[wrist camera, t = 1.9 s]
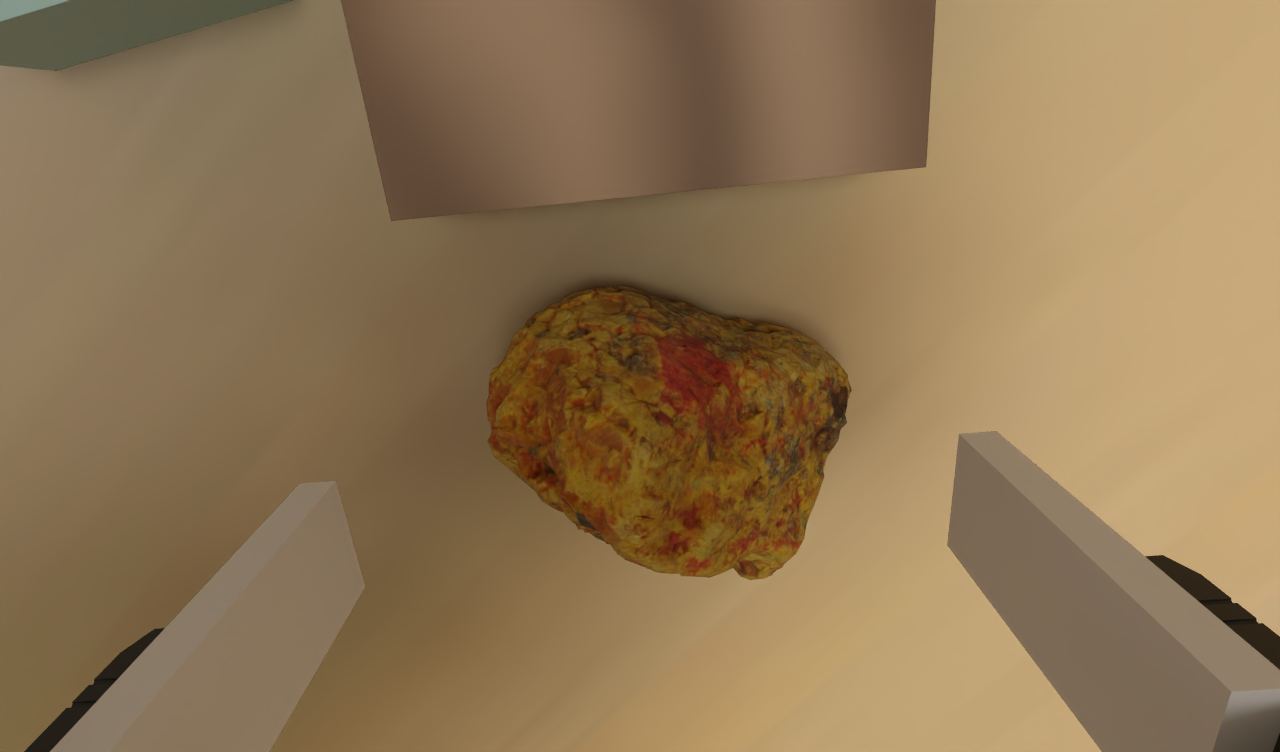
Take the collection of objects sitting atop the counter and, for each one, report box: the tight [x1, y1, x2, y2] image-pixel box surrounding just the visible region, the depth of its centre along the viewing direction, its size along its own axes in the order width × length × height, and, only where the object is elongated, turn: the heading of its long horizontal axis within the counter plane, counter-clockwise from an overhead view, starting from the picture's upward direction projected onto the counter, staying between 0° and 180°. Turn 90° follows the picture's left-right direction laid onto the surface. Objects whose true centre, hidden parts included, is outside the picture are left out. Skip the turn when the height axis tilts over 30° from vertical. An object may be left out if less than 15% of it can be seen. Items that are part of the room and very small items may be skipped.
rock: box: [487, 286, 851, 580], centre depth 21 cm, size 11×8×10 cm
